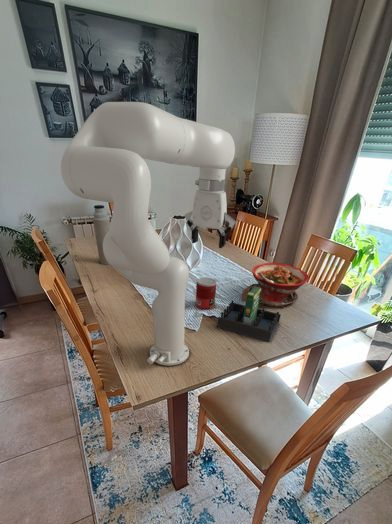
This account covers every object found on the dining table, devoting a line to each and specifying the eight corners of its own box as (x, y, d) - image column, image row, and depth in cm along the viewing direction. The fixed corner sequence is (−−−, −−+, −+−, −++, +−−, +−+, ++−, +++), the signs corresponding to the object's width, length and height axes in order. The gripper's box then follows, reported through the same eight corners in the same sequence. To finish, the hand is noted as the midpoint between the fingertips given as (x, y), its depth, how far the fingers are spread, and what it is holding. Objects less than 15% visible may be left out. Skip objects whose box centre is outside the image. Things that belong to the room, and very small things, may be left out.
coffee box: (248, 328, 105) (254, 295, 98) (241, 326, 106) (246, 293, 99) (256, 319, 111) (261, 287, 103) (249, 317, 112) (254, 285, 104)
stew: (267, 318, 114) (275, 280, 105) (230, 294, 130) (234, 259, 121) (313, 302, 127) (324, 267, 118) (274, 283, 143) (281, 250, 133)
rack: (278, 323, 111) (281, 310, 108) (269, 341, 101) (272, 328, 98) (230, 311, 118) (231, 298, 115) (217, 326, 108) (218, 313, 104)
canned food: (213, 311, 117) (215, 286, 111) (193, 308, 119) (194, 283, 112) (215, 302, 124) (217, 278, 117) (197, 300, 125) (198, 276, 118)
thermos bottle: (116, 259, 161) (109, 204, 144) (112, 264, 155) (105, 207, 138) (102, 258, 161) (93, 203, 144) (97, 264, 154) (88, 206, 138)
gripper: (179, 184, 86) (179, 243, 96) (234, 190, 80) (228, 252, 90) (191, 182, 91) (190, 237, 101) (243, 187, 85) (236, 246, 95)
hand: (208, 244), depth 96 cm, fingers open, 9 cm apart
